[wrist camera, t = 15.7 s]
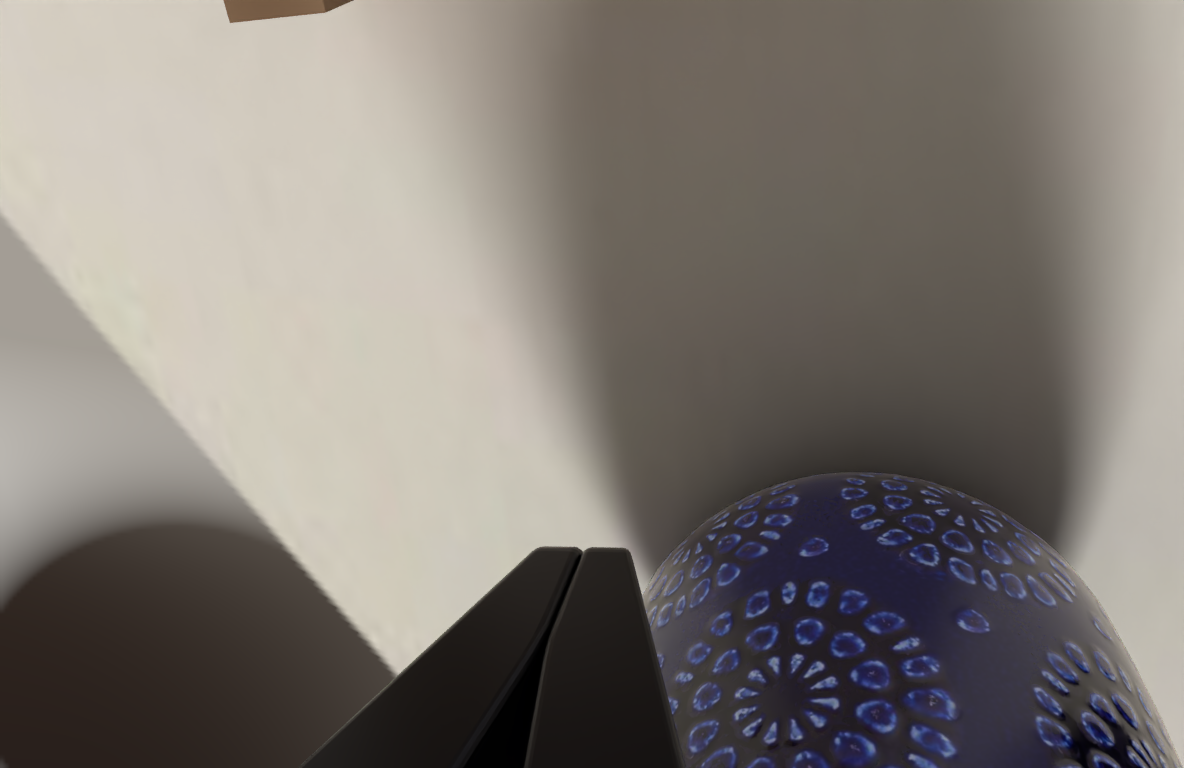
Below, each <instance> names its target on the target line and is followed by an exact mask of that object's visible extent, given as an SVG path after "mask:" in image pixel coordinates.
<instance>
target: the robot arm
mask: <svg viewBox="0 0 1184 768" xmlns="http://www.w3.org/2000/svg"><path fill="white" fill-rule="evenodd" d="M298 768H686V765H685V761H684V757H683V753H682V750H681V746H680V742H679V738H678V734H677V730H676V726H675V722H674V719H673V715H672V711H671V707H670V703H669V699H668V695H667V691H666V687H665V684H664V680H663V676H662V672H661V668H660V664H659V660H658V656H657V653H656V649H655V645H654V641H653V637H652V633H651V629H650V625H649V621H648V618H647V614H646V610H645V606H644V602H643V598H642V594H641V590H640V587H639V583H638V579H637V575H636V571H635V567H634V563H633V559H632V556H631V553H630V552H629V550H627V549H626V548H604V547H591V548H588V549H586V550H585V551H584V552H583V551H582V550H580V549H579V548H577V547H546V546H545V547H539V548H537V549H535V550H534V551H532V552H531V553H530V554H529V555H528V556H527V557H526V558H525V559H524V560H522V561H521V562H520V563H519V564H518V565H517V566H516V567H515V568H514V569H513V570H512V571H511V572H509V573H508V574H507V575H506V576H505V577H504V578H503V579H502V580H501V581H500V582H499V583H498V584H496V585H495V586H494V587H493V588H492V589H491V590H490V591H489V592H488V593H487V594H486V595H485V596H483V597H482V598H481V599H480V600H479V601H478V602H477V603H476V604H475V605H474V606H473V607H472V608H470V609H469V610H468V611H467V612H466V613H465V614H464V615H463V616H462V617H461V618H460V619H459V620H457V621H456V622H455V623H454V624H453V625H452V626H451V627H450V628H449V629H448V630H447V631H446V632H444V633H443V634H442V635H441V636H440V637H439V638H438V639H437V640H436V641H435V642H434V643H433V644H431V645H430V646H429V647H428V648H427V649H426V650H425V651H424V652H423V653H422V654H421V655H420V656H418V657H417V658H416V659H415V660H414V661H413V662H412V663H411V664H410V665H409V666H408V667H407V668H405V669H404V670H403V671H402V672H401V673H400V674H399V675H398V676H397V677H396V678H395V679H394V680H392V681H391V682H390V683H389V684H388V685H387V686H386V687H385V688H384V689H383V690H382V691H381V692H380V693H378V694H377V695H376V696H375V697H374V698H373V699H372V700H371V701H370V702H369V703H367V705H365V706H364V707H363V708H362V709H361V710H360V711H359V712H358V713H357V714H356V715H354V716H353V717H352V718H351V719H350V720H349V721H348V722H347V723H346V724H345V725H344V726H343V727H342V728H340V729H339V731H337V732H336V733H335V734H334V735H333V736H332V737H331V738H330V739H329V740H327V741H326V742H325V743H324V744H323V745H322V746H321V747H320V748H319V749H318V750H317V751H315V752H314V753H313V754H312V755H311V756H310V757H309V758H308V759H307V760H306V761H305V762H304V763H302V764H301V765H300V766H299V767H298Z"/></svg>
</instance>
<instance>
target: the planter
mask: <svg viewBox="0 0 1184 768" xmlns="http://www.w3.org/2000/svg"><path fill="white" fill-rule="evenodd" d="M642 598H643V602H644V606H645V610H646V614H647V618H648V621H649V625H650V629H651V633H652V637H653V641H654V645H655V649H656V653H657V656H658V660H659V664H660V668H661V672H662V676H663V680H664V684H665V687H666V691H667V695H668V699H669V703H670V707H671V711H672V715H673V719H674V722H675V726H676V730H677V734H678V738H679V742H680V746H681V750H682V753H683V757H684V761H685V765H686V768H1183V766H1182V764H1181V762H1180V760H1179V757H1178V755H1177V753H1176V750H1175V748H1174V746H1173V744H1172V741H1171V739H1170V737H1169V734H1168V732H1167V730H1166V727H1165V725H1164V723H1163V721H1162V719H1161V716H1160V714H1159V712H1158V710H1157V708H1156V706H1155V704H1154V702H1153V700H1152V698H1151V696H1150V694H1149V692H1148V690H1147V688H1146V686H1145V684H1144V682H1143V680H1142V678H1141V676H1140V674H1139V672H1138V670H1137V668H1136V666H1135V664H1134V662H1133V661H1132V659H1131V657H1130V655H1129V653H1128V652H1127V650H1126V648H1125V646H1124V644H1123V643H1122V641H1121V639H1120V637H1119V635H1118V633H1117V632H1116V630H1115V628H1114V626H1113V624H1112V623H1111V621H1110V619H1109V617H1108V615H1107V614H1106V612H1105V610H1104V609H1103V607H1102V606H1101V604H1100V603H1099V601H1098V600H1097V599H1096V597H1095V596H1094V595H1093V593H1092V592H1091V591H1090V589H1089V588H1088V587H1087V586H1086V584H1085V583H1084V582H1083V580H1082V579H1081V578H1080V577H1079V575H1078V574H1077V573H1076V572H1075V570H1074V569H1073V568H1072V567H1071V566H1070V564H1069V563H1068V562H1067V561H1066V560H1065V559H1064V558H1063V557H1062V556H1061V555H1060V554H1059V553H1058V552H1057V551H1056V550H1055V549H1054V548H1053V547H1052V546H1050V545H1049V544H1048V543H1047V542H1045V541H1044V540H1043V539H1042V538H1040V537H1039V536H1038V535H1036V534H1035V533H1034V532H1032V531H1031V530H1029V529H1028V528H1026V527H1025V526H1023V525H1022V524H1021V523H1019V522H1018V521H1016V520H1015V519H1013V518H1012V517H1010V516H1008V515H1007V514H1005V513H1004V512H1002V511H1000V510H999V509H997V508H995V507H993V506H991V505H989V504H987V503H985V502H983V501H981V500H979V499H977V498H975V497H972V496H970V495H967V494H965V493H962V492H959V491H957V490H954V489H951V488H948V487H946V486H943V485H940V484H936V483H933V482H930V481H926V480H922V479H918V478H913V477H908V476H902V475H896V474H888V473H877V472H838V473H827V474H819V475H813V476H807V477H802V478H798V479H794V480H790V481H786V482H783V483H779V484H776V485H773V486H770V487H768V488H765V489H763V490H760V491H758V492H755V493H753V494H751V495H749V496H747V497H745V498H743V499H741V500H739V501H737V502H735V503H733V504H731V505H730V506H728V507H726V508H724V509H723V510H721V511H719V512H718V513H716V514H715V515H713V516H712V517H710V518H709V519H708V520H706V521H705V522H704V523H703V524H701V525H700V526H699V527H698V528H697V529H695V530H694V531H693V532H692V533H691V534H690V535H689V536H688V537H687V538H686V539H684V540H683V541H682V542H681V543H680V544H679V545H678V546H677V547H676V548H675V549H674V550H673V551H672V552H671V553H670V554H669V555H668V557H667V558H666V559H665V560H664V561H663V563H662V564H661V565H660V567H659V568H658V569H657V571H656V572H655V574H654V576H653V577H652V579H651V581H650V582H649V584H648V586H647V588H646V590H645V592H644V594H643V595H642Z"/></svg>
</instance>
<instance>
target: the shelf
mask: <svg viewBox="0 0 1184 768" xmlns="http://www.w3.org/2000/svg"><path fill="white" fill-rule="evenodd" d="M350 1H353V0H224V3H225V7H226V10H227V14H228V17H229V21H230V23H233V22H243V21H252V20H261V19H270V18H279V17H288V16H298V15H307V14H316V13H325V12H328V11H330V10H332V9H335V8H337V7H339V6H341V5H344V4H346V3H348V2H350Z"/></svg>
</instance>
